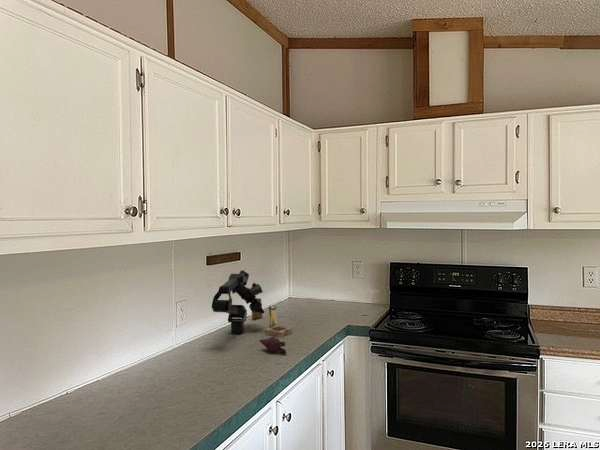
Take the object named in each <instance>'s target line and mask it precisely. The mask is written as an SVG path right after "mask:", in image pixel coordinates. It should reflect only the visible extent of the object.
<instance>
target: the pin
mask: <svg viewBox="0 0 600 450" xmlns="http://www.w3.org/2000/svg"><path fill="white" fill-rule="evenodd" d="M277 309H278V308H277V305H270V306H269V305H268V327H269V328H271V327H274V326H276V325H277V323H278V322H277ZM277 326H278V325H277Z"/></svg>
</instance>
